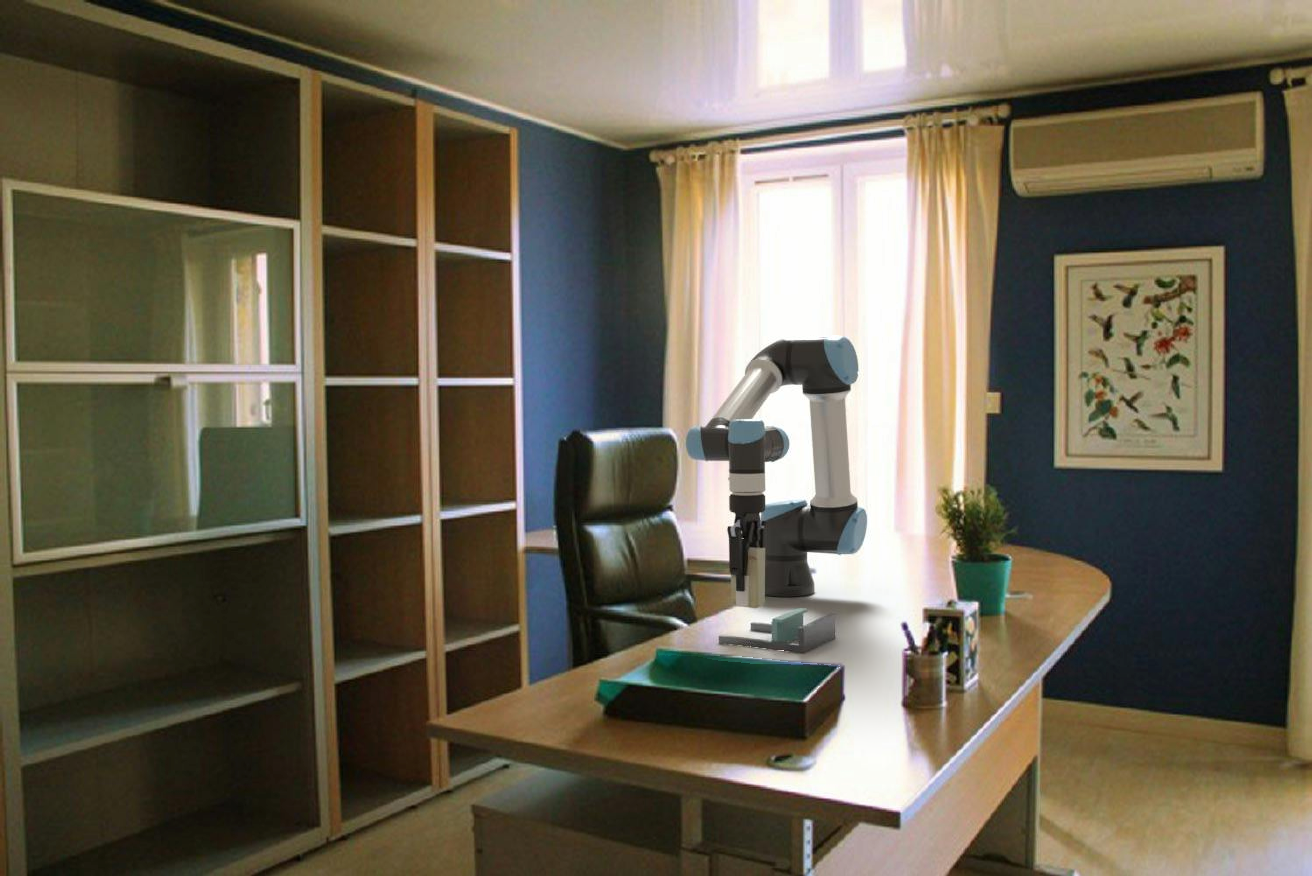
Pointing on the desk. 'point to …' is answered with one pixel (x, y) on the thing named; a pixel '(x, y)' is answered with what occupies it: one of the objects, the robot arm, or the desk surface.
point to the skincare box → (753, 578)
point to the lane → (807, 641)
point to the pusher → (787, 625)
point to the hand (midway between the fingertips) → (748, 604)
